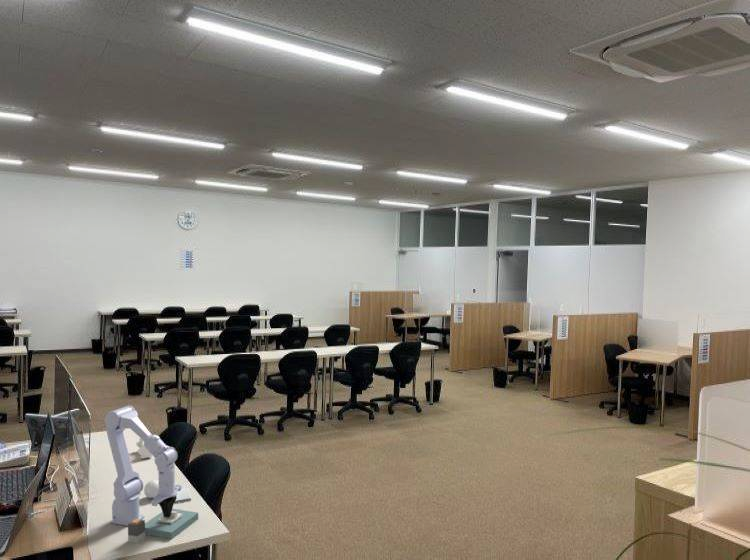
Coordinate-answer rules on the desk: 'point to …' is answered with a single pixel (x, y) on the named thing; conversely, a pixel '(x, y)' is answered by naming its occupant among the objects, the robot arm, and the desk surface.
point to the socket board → (170, 525)
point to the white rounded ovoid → (151, 489)
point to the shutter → (172, 518)
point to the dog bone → (143, 450)
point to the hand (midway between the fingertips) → (167, 516)
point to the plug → (136, 531)
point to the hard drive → (183, 495)
